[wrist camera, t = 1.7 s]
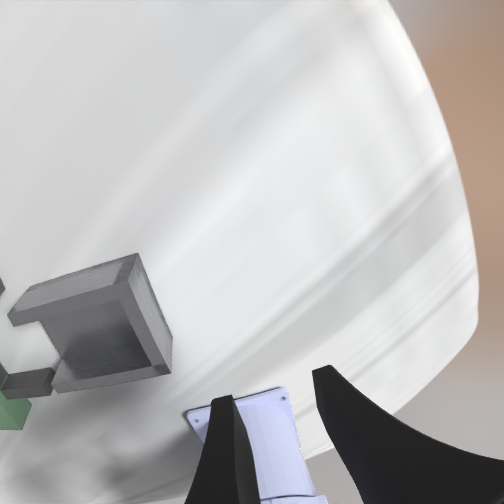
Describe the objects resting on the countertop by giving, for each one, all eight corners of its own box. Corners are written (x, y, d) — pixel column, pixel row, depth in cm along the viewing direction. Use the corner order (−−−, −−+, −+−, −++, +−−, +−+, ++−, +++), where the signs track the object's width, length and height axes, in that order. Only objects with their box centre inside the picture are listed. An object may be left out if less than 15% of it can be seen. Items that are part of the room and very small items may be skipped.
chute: (172, 336, 20) (171, 373, 16) (70, 359, 19) (57, 393, 16) (138, 252, 17) (127, 280, 14) (30, 286, 17) (7, 314, 14)
